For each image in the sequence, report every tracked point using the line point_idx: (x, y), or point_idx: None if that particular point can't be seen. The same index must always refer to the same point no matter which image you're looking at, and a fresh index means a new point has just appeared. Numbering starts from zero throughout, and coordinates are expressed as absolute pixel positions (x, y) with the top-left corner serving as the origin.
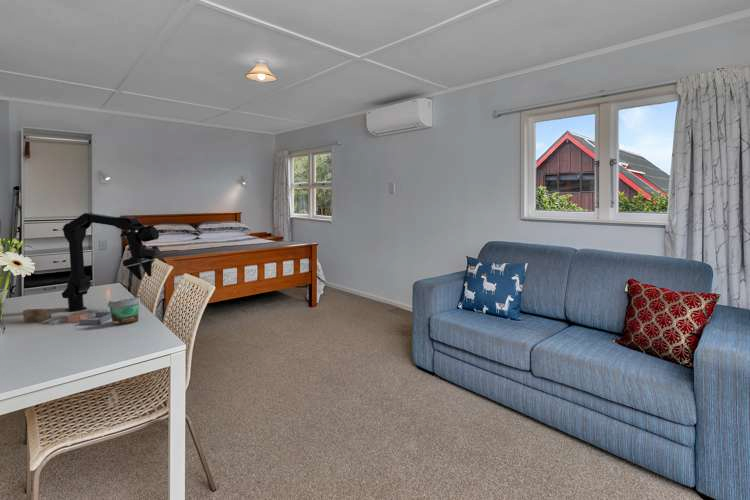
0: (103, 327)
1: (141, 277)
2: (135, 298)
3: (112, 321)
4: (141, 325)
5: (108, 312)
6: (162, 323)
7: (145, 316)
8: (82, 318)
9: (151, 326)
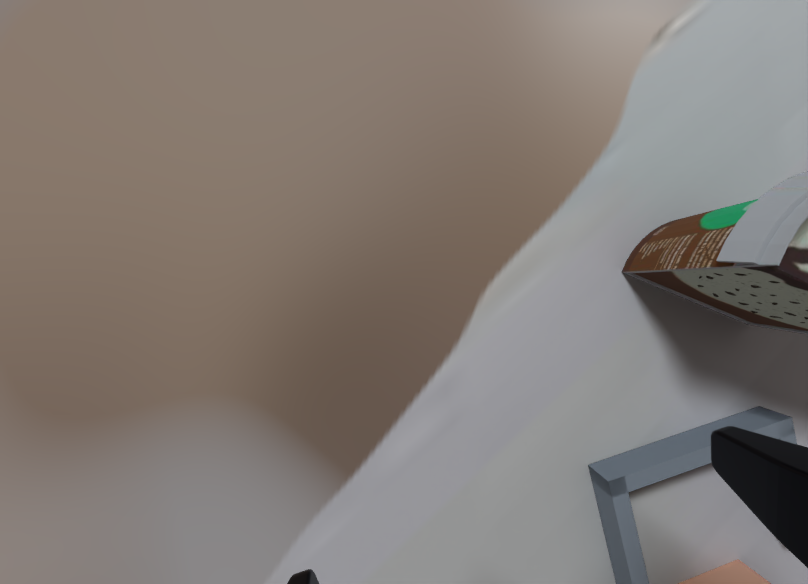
0: (800, 337)
1: (761, 442)
2: (796, 247)
3: (772, 328)
4: (735, 131)
5: (633, 515)
6: (679, 17)
7: (557, 255)
8: (741, 580)
9: (743, 49)
